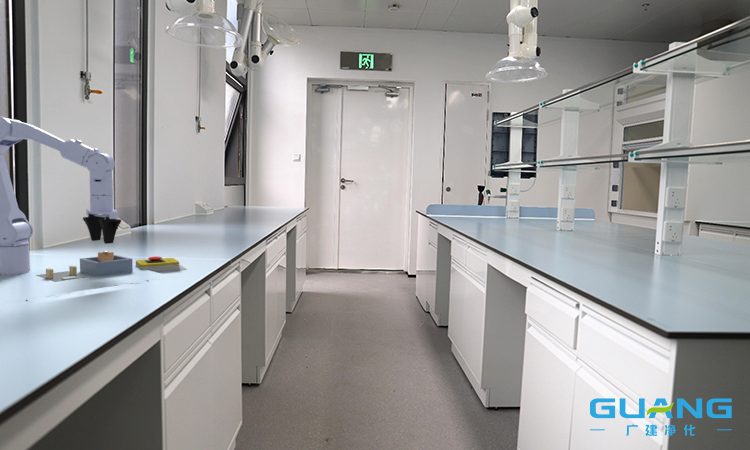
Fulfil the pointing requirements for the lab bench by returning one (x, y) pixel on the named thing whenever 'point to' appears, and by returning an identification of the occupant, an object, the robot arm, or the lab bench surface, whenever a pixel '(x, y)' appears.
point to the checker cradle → (62, 274)
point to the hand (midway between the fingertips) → (102, 241)
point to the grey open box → (106, 266)
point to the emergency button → (159, 264)
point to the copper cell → (105, 256)
